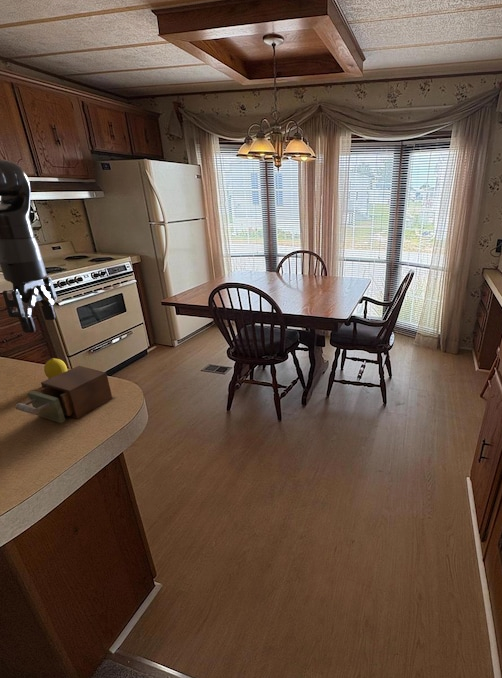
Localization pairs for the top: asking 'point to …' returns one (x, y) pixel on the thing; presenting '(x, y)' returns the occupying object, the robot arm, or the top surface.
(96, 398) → the cabinet
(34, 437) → the top surface
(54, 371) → the lemon
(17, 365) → the top surface
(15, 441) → the top surface
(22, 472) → the top surface
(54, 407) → the drawer
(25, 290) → the robot arm
